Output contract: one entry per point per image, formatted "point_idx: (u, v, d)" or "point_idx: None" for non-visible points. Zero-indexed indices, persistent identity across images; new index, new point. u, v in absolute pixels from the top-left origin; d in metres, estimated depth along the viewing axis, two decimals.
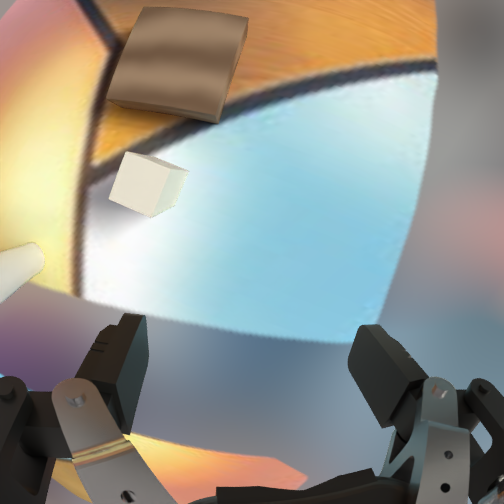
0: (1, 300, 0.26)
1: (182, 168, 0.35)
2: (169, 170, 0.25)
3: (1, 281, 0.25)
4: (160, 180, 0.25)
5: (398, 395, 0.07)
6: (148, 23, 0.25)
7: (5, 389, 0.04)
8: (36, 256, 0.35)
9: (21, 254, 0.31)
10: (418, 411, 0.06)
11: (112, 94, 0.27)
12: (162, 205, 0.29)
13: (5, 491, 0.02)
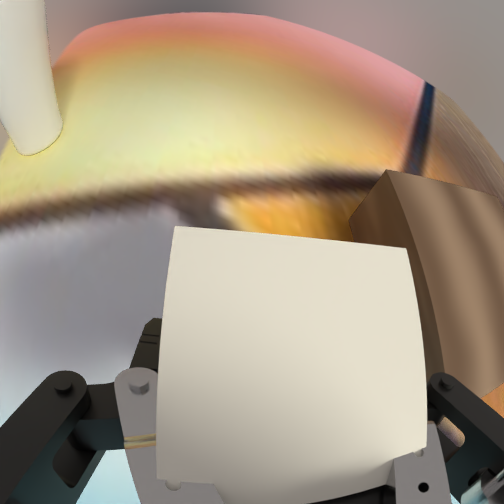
0: None
1: None
2: None
3: None
4: (373, 463, 0.04)
5: None
6: (491, 211, 0.16)
7: (62, 384, 0.05)
8: (36, 131, 0.17)
9: (38, 92, 0.14)
10: None
11: (398, 181, 0.15)
12: None
13: (40, 482, 0.03)
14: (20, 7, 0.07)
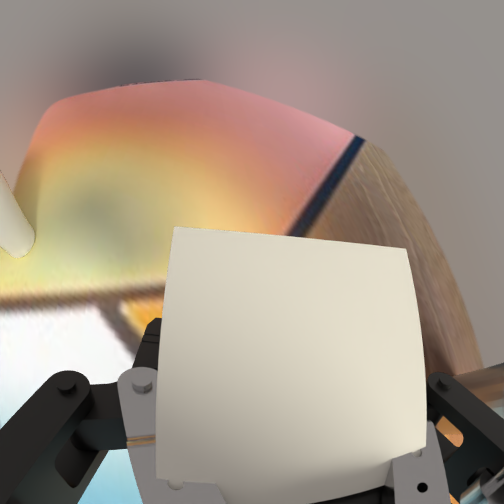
0: None
1: None
2: None
3: None
4: (372, 464, 0.04)
5: None
6: None
7: (66, 384, 0.05)
8: (18, 247, 0.28)
9: (14, 229, 0.25)
10: None
11: None
12: None
13: (42, 482, 0.03)
14: None
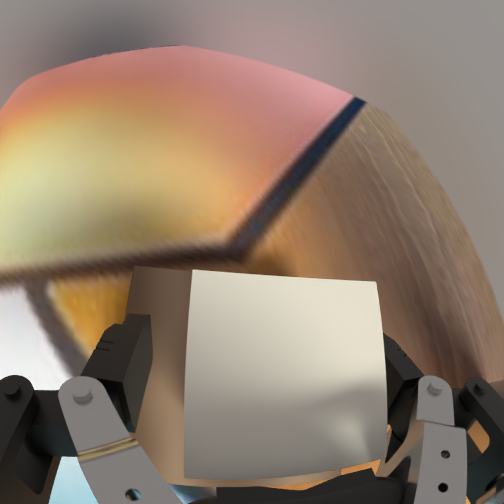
0: None
1: None
2: (380, 455, 0.05)
3: None
4: (342, 448, 0.05)
5: (393, 394, 0.07)
6: None
7: (11, 388, 0.04)
8: None
9: None
10: (413, 410, 0.06)
11: (140, 277, 0.18)
12: None
13: (9, 490, 0.02)
14: None
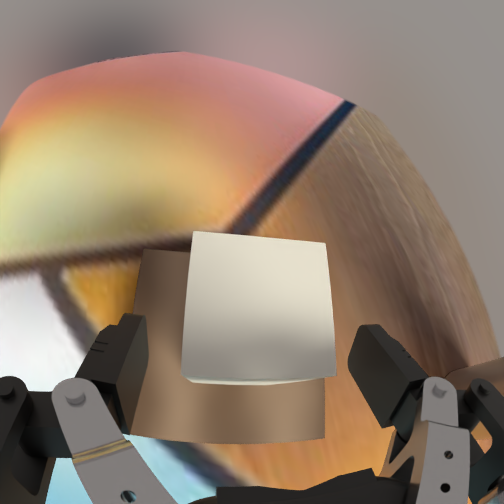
0: None
1: None
2: (331, 373, 0.09)
3: None
4: (298, 360, 0.09)
5: (398, 395, 0.07)
6: None
7: (5, 389, 0.04)
8: None
9: None
10: (418, 411, 0.06)
11: (149, 258, 0.21)
12: None
13: (5, 491, 0.02)
14: None
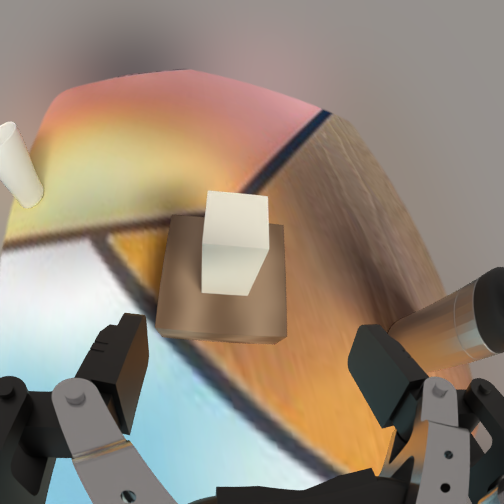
0: None
1: None
2: (267, 248, 0.22)
3: (1, 162, 0.26)
4: (251, 240, 0.22)
5: (398, 395, 0.07)
6: None
7: (5, 389, 0.04)
8: (30, 198, 0.35)
9: (28, 180, 0.33)
10: (418, 411, 0.06)
11: (175, 220, 0.34)
12: (213, 262, 0.24)
13: (5, 491, 0.02)
14: (9, 147, 0.26)
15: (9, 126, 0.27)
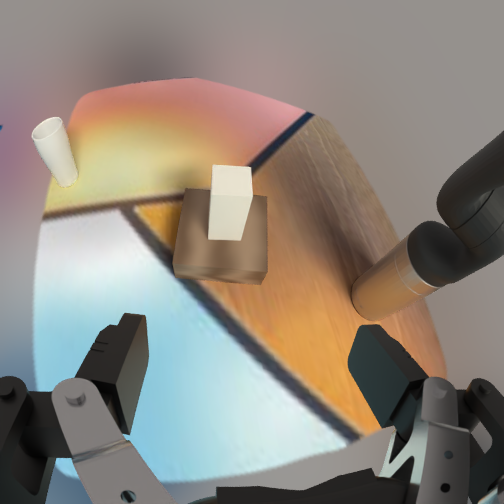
0: (38, 149, 0.38)
1: None
2: (251, 196, 0.35)
3: (50, 148, 0.39)
4: (241, 192, 0.35)
5: (398, 395, 0.07)
6: None
7: (5, 389, 0.04)
8: (68, 178, 0.48)
9: (68, 164, 0.45)
10: (418, 411, 0.06)
11: (188, 192, 0.47)
12: (217, 209, 0.37)
13: (5, 491, 0.02)
14: (57, 136, 0.38)
15: (54, 120, 0.40)
